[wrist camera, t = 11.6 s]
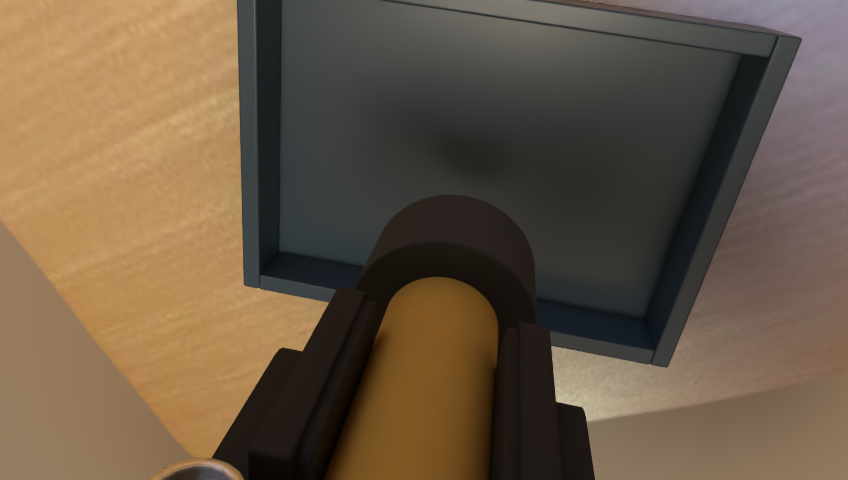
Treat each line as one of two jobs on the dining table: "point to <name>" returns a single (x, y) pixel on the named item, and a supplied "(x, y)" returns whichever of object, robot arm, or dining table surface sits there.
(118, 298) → the dining table surface
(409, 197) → the basin tray
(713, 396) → the dining table surface
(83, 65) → the dining table surface
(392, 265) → the plug
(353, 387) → the robot arm
